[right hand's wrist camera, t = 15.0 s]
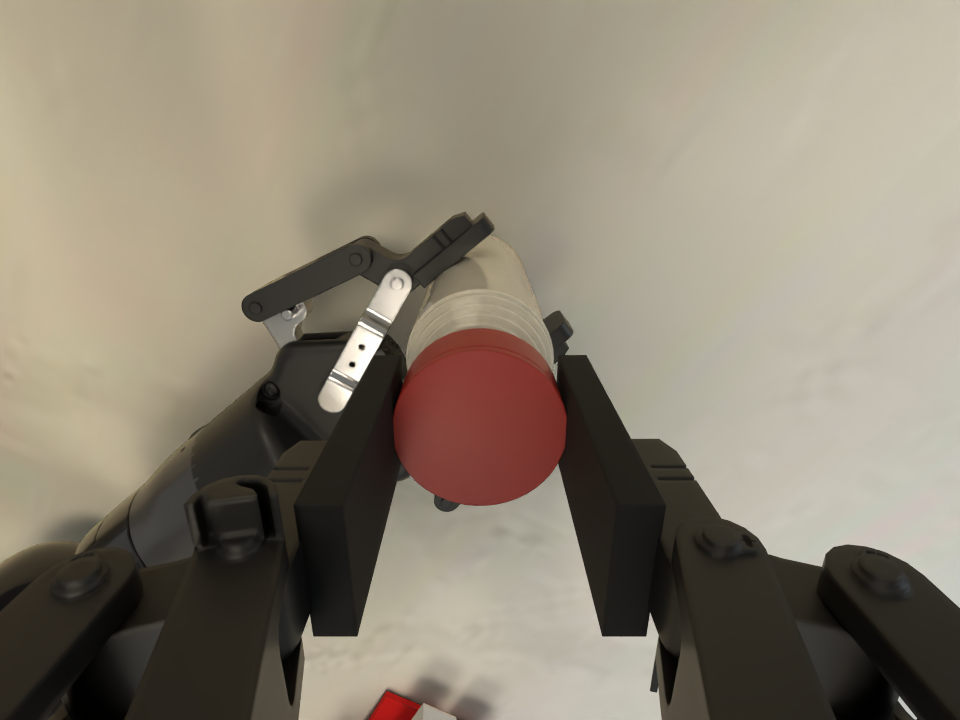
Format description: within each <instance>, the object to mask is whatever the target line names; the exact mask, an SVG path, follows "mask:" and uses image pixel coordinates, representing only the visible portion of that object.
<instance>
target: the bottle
mask: <svg viewBox="0 0 960 720" xmlns="http://www.w3.org/2000/svg"><path fill="white" fill-rule="evenodd" d="M472 328H487V329H495V330H499V331H503V332H507V333H509V334H512V335H515V336H517V337H519V338H520V339H522V340H524V341H526V342H527V343H528V344H530V345H531V346H533V347H534V348H535V349H536V350H537V351H538V352H539V353H540V354H541V355H542V357H543V358H544V359H545V360H546V362H547V363H548V365H549V367H550V368H551V370H553V363H554V353H553V345H552V341H551V338H550V335H549V332H548V330H547V327H546V324H545V322H544V319H543V317H542V314H541V312H540V309H539V307H538V304H537V301H536V299H535V296H534V294H533V291H532V289H531V286H530V284H529V281H528V278H527V276H526V273H525V271H524V268H523V266H522V263H521V261H520V259H519V257H518V255H517V254H516V252H515V251H514V250H513V249H512V248H511V247H510V246H509V245H508V244H507V243H506V242H504V241H502V240H501V239H498V238H496V237H493V236H490V235H489V236H487V237H486V238H485V239H484V240H483V241H481V242H480V243H479V244H478V245H477V246H475V247H474V248H473V249H472V250H470V251H469V252H468V253H467V254H466V255H464V256H463V257H462V258H461V259H459V260H458V261H457V262H456V263H454V264H453V265H452V266H451V267H450V268H448V269H447V270H446V271H444V272H443V273H442V274H440V275H439V276H438V277H437V278H436V279H435V280H434V281H432V282H431V283H430V286H429V288H428V291H427V293H426V296H425V298H424V301H423V304H422V306H421V309H420V311H419V314H418V316H417V319H416V321H415V324H414V327H413V329H412V332H411V334H410V337H409V340H408V344H407V350H406V366H407V372H408V370H409V368H410V366H411V364H412V363H413V361H414V360H415V359H416V357H417V356H418V355H419V354H420V353H421V352H422V351H423V350H424V349H425V348H426V347H427V346H429V345H430V344H431V343H433V342H434V341H436V340H438V339H439V338H441V337H443V336H445V335H448V334H450V333H453V332H456V331H460V330H465V329H472Z"/></svg>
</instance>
